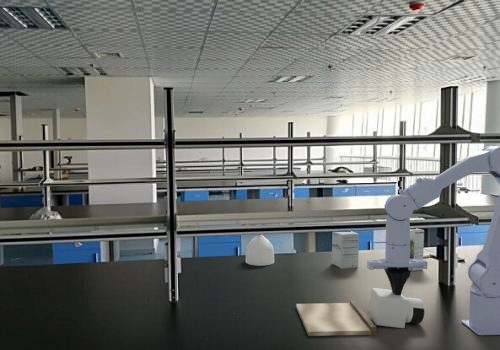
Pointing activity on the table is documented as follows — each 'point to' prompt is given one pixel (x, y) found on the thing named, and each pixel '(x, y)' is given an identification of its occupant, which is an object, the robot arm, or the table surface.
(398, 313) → the medicine bottle
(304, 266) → the table surface
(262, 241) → the teardrop
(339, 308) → the board
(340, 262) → the supplement box
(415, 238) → the syrup box
